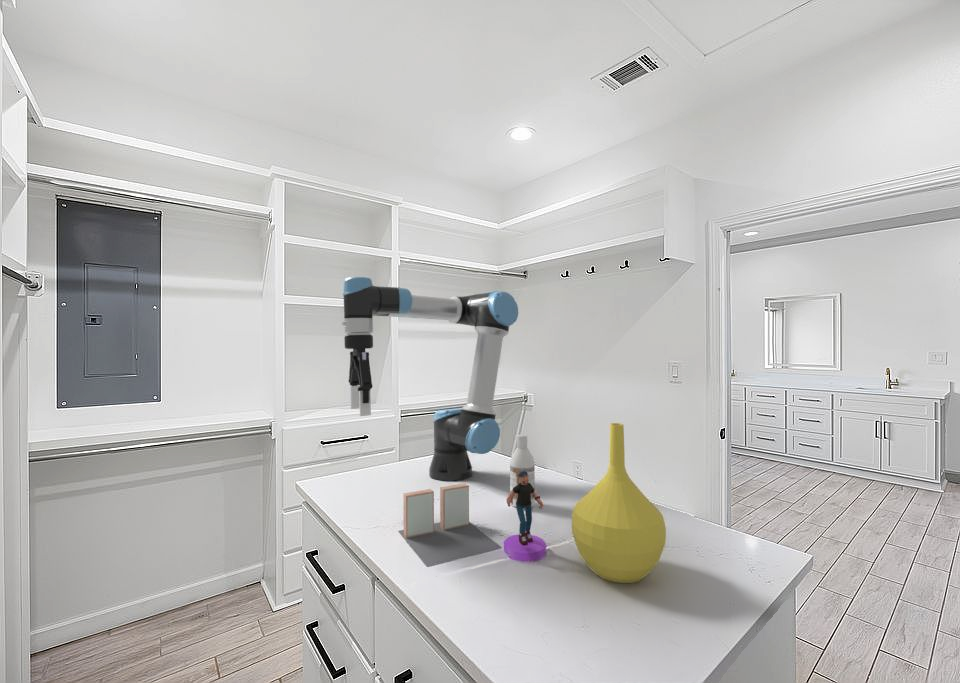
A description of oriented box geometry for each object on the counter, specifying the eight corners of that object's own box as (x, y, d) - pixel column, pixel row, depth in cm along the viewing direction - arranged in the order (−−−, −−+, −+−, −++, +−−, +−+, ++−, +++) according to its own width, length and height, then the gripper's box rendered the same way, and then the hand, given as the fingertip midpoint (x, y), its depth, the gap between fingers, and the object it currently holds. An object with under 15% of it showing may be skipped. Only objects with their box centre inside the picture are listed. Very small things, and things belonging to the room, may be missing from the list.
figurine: (515, 564, 94) (514, 478, 94) (497, 546, 102) (496, 467, 103) (553, 556, 97) (553, 473, 97) (533, 539, 106) (532, 463, 106)
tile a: (465, 522, 115) (465, 483, 115) (469, 525, 113) (469, 485, 113) (440, 527, 112) (440, 487, 112) (443, 530, 110) (443, 489, 110)
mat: (464, 518, 118) (464, 517, 118) (502, 549, 101) (502, 547, 101) (397, 532, 110) (397, 530, 110) (427, 568, 92) (427, 566, 92)
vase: (656, 607, 79) (655, 437, 79) (558, 578, 88) (557, 427, 88) (673, 563, 94) (672, 421, 94) (588, 543, 104) (587, 414, 104)
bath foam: (506, 503, 130) (505, 434, 130) (527, 499, 133) (526, 432, 133) (517, 511, 124) (517, 438, 124) (539, 507, 126) (538, 436, 126)
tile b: (430, 529, 111) (430, 488, 111) (434, 532, 109) (434, 491, 109) (403, 535, 108) (403, 493, 108) (406, 538, 106) (406, 496, 106)
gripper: (337, 335, 132) (339, 406, 132) (352, 333, 110) (354, 420, 110) (363, 334, 135) (364, 404, 136) (383, 333, 113) (384, 417, 113)
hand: (360, 411), depth 123 cm, fingers open, 13 cm apart
